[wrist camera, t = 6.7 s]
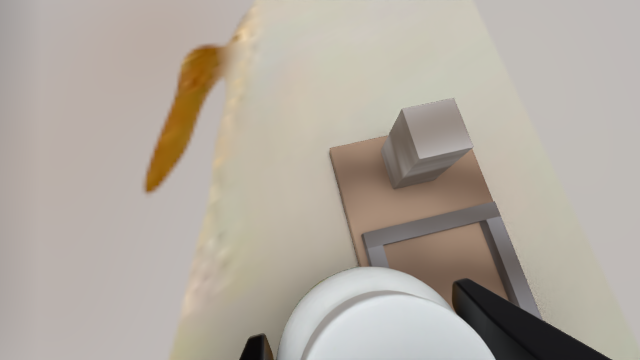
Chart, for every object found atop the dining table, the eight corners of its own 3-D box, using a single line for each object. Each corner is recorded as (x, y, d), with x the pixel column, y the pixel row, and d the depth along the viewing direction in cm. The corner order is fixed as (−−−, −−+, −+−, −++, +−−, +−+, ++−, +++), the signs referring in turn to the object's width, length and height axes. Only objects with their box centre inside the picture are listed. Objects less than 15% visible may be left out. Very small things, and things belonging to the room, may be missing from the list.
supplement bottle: (364, 430, 14) (457, 718, 5) (267, 345, 15) (188, 450, 6) (431, 321, 15) (606, 381, 6) (338, 249, 16) (367, 207, 7)
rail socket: (586, 459, 19) (732, 555, 12) (424, 510, 18) (487, 643, 12) (455, 125, 25) (505, 70, 19) (329, 153, 24) (335, 105, 18)
